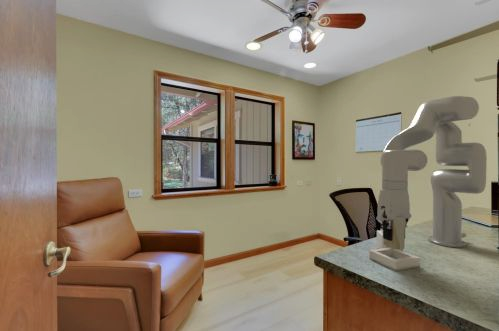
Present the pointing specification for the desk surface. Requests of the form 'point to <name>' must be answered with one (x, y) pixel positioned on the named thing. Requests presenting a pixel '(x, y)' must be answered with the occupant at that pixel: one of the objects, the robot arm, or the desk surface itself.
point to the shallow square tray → (394, 258)
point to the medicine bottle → (381, 240)
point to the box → (397, 233)
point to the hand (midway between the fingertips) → (393, 238)
